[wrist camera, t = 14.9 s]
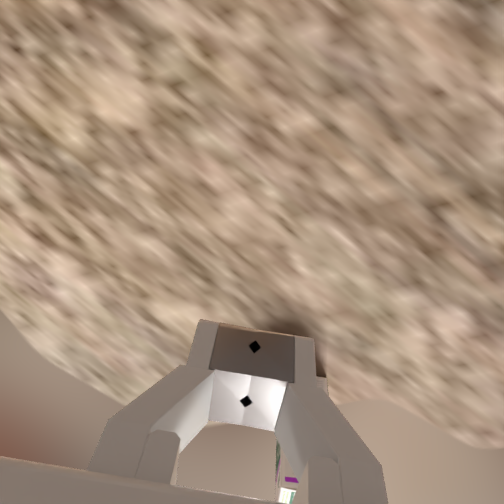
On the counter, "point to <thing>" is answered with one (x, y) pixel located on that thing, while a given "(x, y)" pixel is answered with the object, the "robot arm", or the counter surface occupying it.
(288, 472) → the syrup box
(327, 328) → the counter surface
